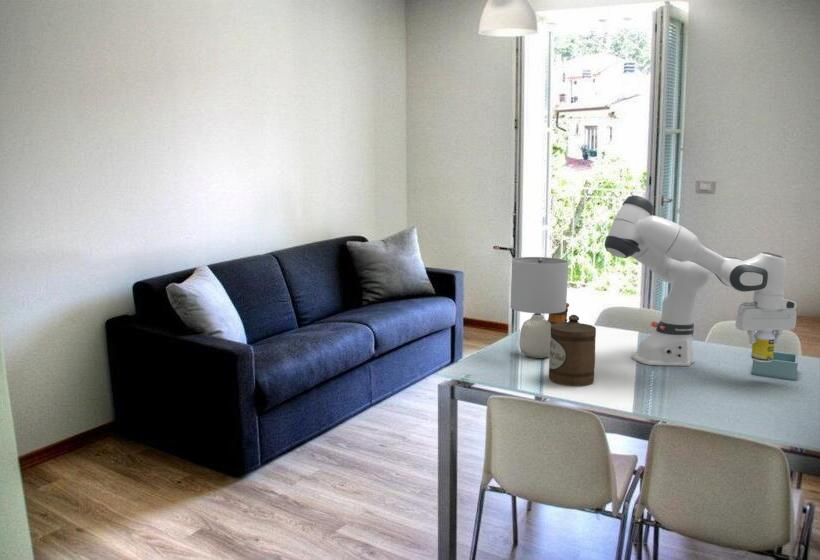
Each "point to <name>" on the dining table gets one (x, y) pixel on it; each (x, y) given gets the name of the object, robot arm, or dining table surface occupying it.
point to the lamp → (538, 299)
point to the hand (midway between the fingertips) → (763, 343)
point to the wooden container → (572, 353)
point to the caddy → (778, 366)
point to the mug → (558, 316)
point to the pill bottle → (763, 345)
